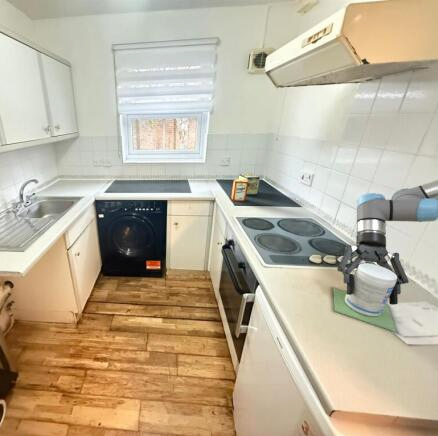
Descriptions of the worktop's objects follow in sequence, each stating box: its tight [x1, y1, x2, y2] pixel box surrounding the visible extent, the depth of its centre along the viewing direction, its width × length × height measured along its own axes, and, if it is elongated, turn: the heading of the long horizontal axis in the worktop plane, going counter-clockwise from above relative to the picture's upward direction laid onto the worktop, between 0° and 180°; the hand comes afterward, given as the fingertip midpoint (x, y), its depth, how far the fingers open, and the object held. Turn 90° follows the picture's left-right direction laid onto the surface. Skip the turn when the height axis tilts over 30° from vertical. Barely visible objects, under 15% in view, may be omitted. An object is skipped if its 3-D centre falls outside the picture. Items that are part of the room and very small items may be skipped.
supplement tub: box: [345, 262, 397, 316], centre depth 78 cm, size 10×10×15 cm
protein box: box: [238, 173, 261, 197], centre depth 202 cm, size 10×16×16 cm
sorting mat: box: [333, 287, 397, 333], centre depth 81 cm, size 15×14×1 cm
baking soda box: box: [230, 178, 248, 202], centre depth 185 cm, size 10×6×16 cm
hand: (371, 299), depth 76 cm, fingers open, 10 cm apart
